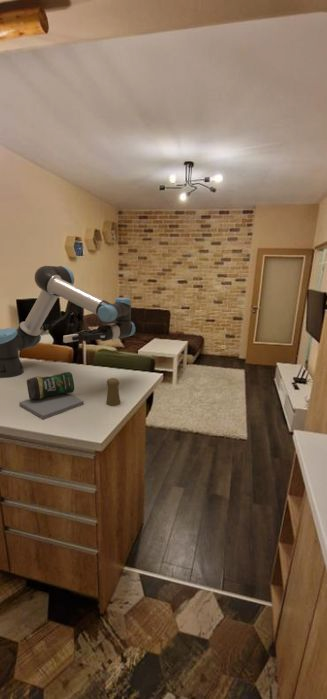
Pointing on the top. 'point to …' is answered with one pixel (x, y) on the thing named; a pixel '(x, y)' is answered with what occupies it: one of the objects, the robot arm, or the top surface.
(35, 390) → the coffee jar
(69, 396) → the mat
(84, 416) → the top surface
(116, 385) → the cork
